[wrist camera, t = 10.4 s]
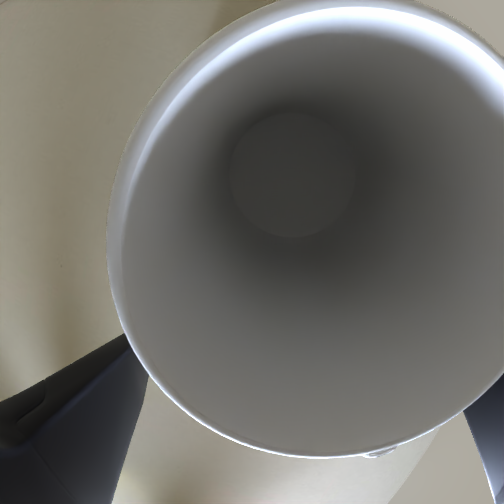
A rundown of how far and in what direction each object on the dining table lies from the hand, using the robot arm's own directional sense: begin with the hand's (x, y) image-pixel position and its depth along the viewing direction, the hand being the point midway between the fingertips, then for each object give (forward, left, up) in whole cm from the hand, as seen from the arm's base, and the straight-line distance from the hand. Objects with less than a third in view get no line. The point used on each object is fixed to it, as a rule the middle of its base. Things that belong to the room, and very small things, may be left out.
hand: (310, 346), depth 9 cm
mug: (-1, -2, -8) cm, 9 cm away
